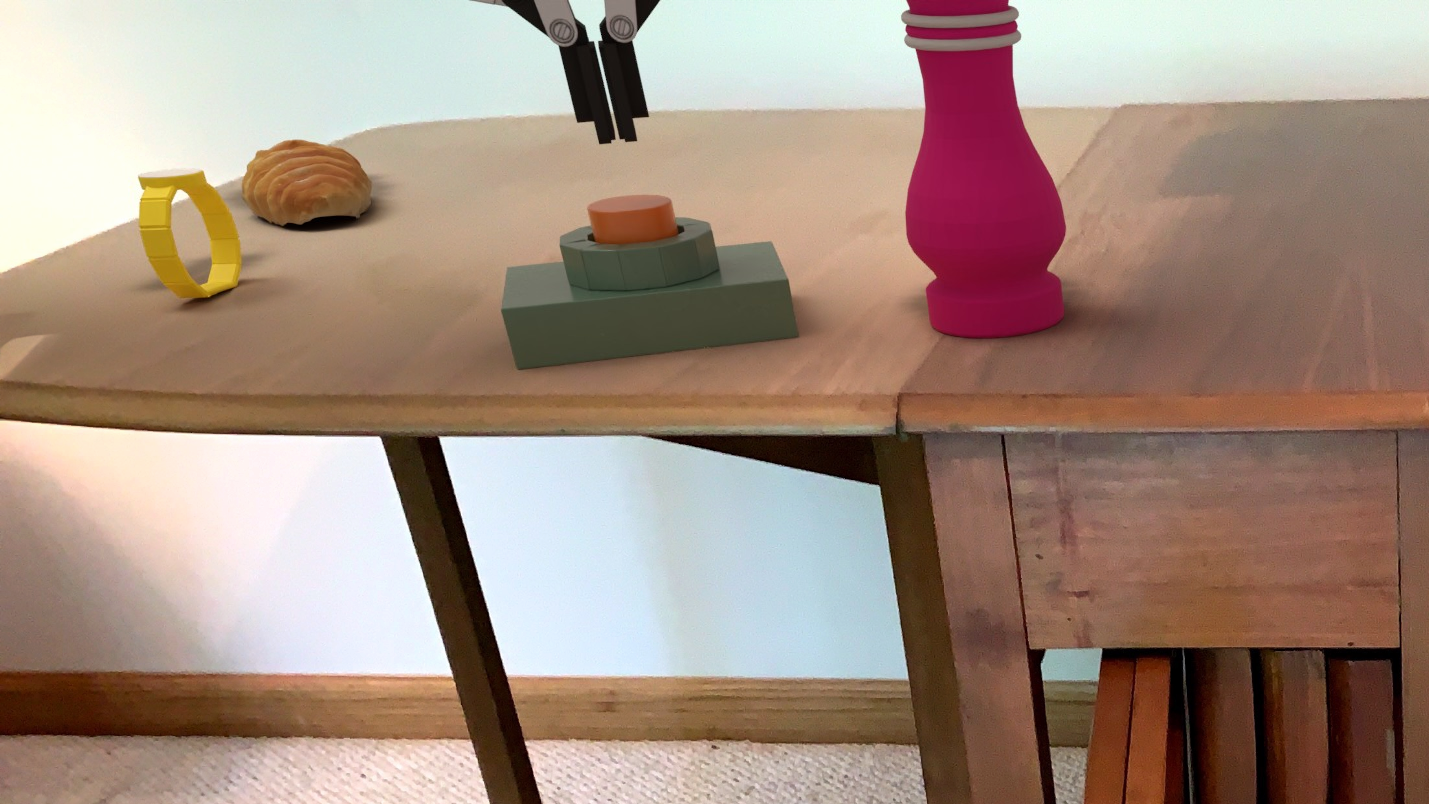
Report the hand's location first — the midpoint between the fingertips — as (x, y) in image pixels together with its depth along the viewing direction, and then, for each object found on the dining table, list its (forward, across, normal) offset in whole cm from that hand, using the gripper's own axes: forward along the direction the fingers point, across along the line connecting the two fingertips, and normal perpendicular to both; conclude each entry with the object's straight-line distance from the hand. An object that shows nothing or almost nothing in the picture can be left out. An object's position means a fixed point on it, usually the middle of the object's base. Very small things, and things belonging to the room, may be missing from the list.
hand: (617, 137), depth 75 cm
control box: (+9, 0, 0) cm, 9 cm away
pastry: (+9, -18, +36) cm, 41 cm away
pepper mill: (+9, +15, -5) cm, 18 cm away
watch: (+9, -21, +17) cm, 28 cm away
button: (+5, 0, 0) cm, 5 cm away
